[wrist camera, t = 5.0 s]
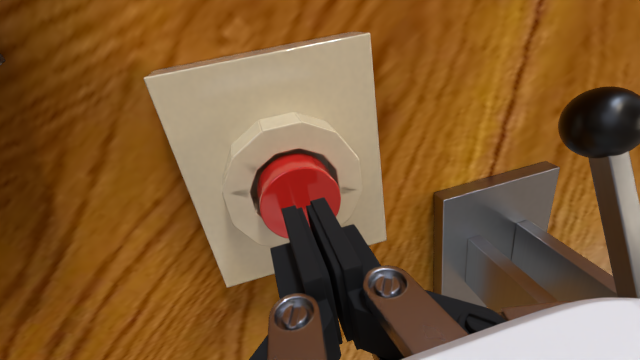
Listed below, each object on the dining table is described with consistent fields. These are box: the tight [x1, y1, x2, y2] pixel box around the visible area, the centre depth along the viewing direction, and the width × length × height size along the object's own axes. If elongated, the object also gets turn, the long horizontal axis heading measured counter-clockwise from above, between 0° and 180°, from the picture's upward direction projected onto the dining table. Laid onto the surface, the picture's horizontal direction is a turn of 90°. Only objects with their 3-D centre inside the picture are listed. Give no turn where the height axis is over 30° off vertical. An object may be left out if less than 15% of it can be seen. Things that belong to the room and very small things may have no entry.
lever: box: [558, 87, 640, 299], centre depth 15 cm, size 16×3×3 cm, turn 9°
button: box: [257, 153, 341, 239], centre depth 15 cm, size 4×4×2 cm
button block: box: [144, 32, 387, 287], centre depth 17 cm, size 12×10×4 cm
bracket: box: [434, 161, 618, 313], centre depth 20 cm, size 12×9×14 cm
